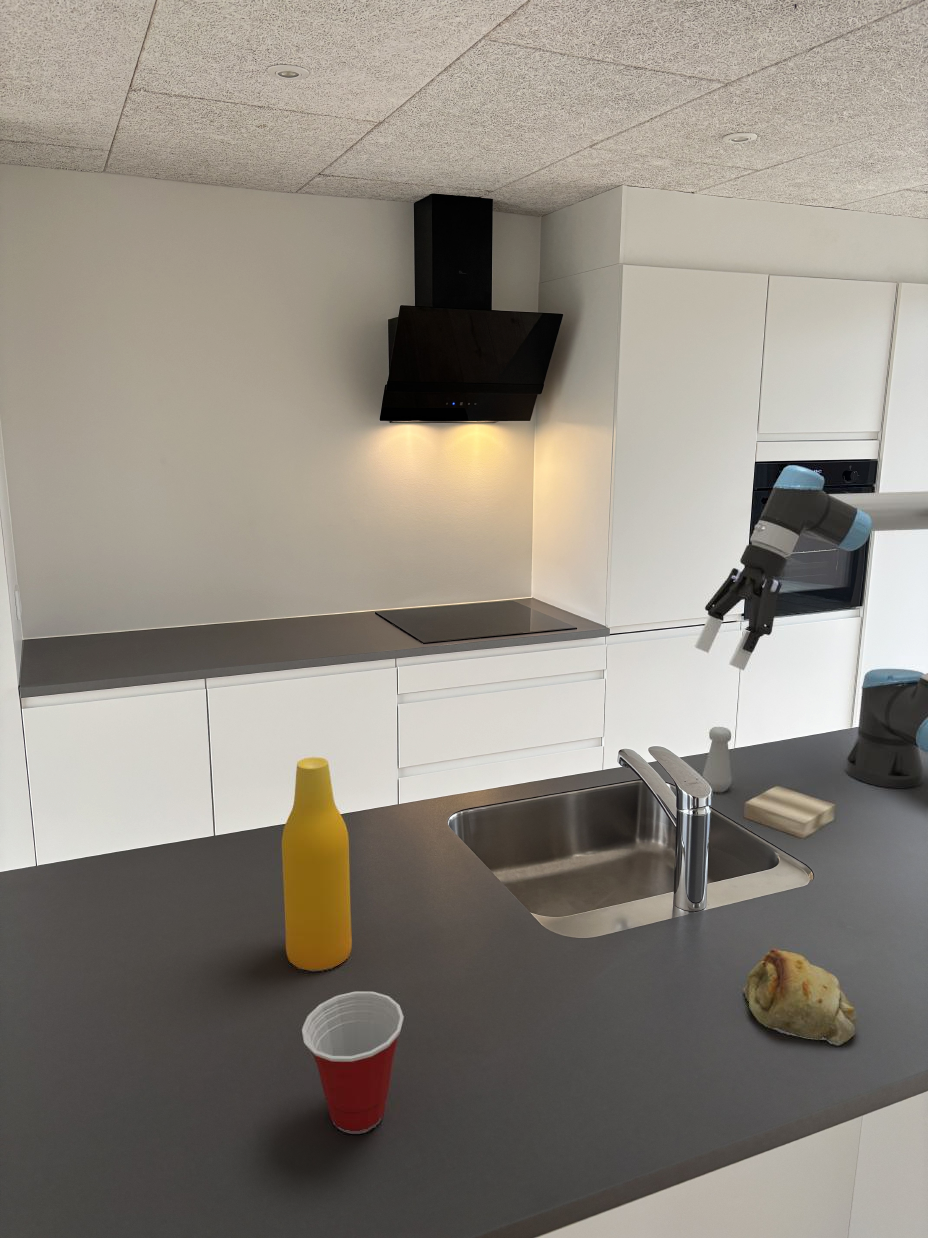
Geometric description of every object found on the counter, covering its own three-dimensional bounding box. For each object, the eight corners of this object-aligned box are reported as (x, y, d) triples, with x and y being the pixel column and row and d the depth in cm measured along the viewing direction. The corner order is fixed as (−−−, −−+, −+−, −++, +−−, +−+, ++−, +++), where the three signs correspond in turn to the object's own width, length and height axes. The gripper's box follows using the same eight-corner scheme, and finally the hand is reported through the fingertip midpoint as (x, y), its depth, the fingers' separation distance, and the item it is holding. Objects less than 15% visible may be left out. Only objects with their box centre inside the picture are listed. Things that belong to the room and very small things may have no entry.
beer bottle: (365, 953, 128) (361, 762, 122) (313, 983, 122) (305, 782, 115) (324, 928, 134) (318, 745, 128) (273, 955, 128) (263, 763, 121)
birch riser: (775, 799, 180) (776, 785, 179) (834, 819, 171) (835, 804, 171) (743, 817, 172) (745, 802, 171) (803, 838, 163) (804, 823, 163)
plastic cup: (309, 1082, 103) (305, 990, 101) (404, 1077, 104) (402, 986, 102) (301, 1158, 93) (296, 1058, 90) (406, 1152, 94) (404, 1052, 91)
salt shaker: (732, 795, 182) (736, 734, 179) (702, 793, 183) (706, 732, 180) (729, 784, 187) (734, 725, 184) (701, 781, 188) (705, 723, 186)
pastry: (721, 996, 120) (725, 941, 118) (793, 973, 124) (798, 921, 123) (798, 1064, 107) (804, 1005, 105) (876, 1036, 112) (883, 979, 110)
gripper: (718, 535, 172) (672, 636, 174) (789, 550, 148) (734, 667, 150) (750, 550, 174) (704, 650, 176) (825, 567, 150) (770, 683, 152)
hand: (718, 658), depth 163 cm, fingers open, 13 cm apart
